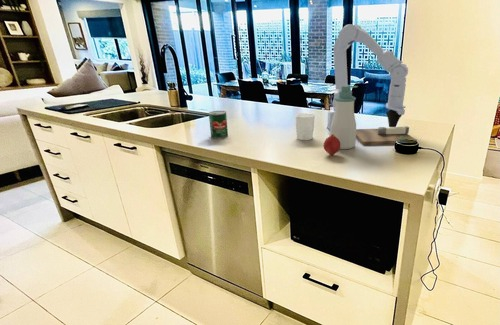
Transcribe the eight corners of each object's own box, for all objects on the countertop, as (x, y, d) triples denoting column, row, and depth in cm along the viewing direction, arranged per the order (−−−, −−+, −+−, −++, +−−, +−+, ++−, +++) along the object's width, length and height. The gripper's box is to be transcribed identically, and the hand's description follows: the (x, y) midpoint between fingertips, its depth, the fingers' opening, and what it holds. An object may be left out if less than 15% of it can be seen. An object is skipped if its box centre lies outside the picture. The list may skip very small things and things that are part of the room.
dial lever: (379, 135, 121) (380, 128, 120) (376, 133, 124) (377, 126, 123) (409, 134, 120) (410, 127, 119) (405, 132, 123) (406, 126, 122)
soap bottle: (351, 151, 110) (356, 88, 101) (325, 148, 115) (328, 87, 106) (358, 144, 117) (363, 84, 109) (333, 141, 122) (336, 83, 114)
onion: (321, 153, 110) (321, 132, 107) (336, 151, 110) (337, 130, 107) (326, 158, 104) (327, 136, 101) (342, 157, 105) (343, 135, 102)
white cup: (315, 135, 130) (315, 113, 127) (312, 141, 123) (313, 117, 120) (297, 135, 133) (297, 112, 129) (293, 140, 126) (293, 116, 122)
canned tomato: (220, 132, 142) (218, 109, 138) (231, 135, 137) (229, 111, 133) (207, 136, 137) (205, 112, 133) (218, 139, 132) (216, 115, 128)
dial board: (363, 145, 115) (363, 141, 115) (350, 132, 132) (351, 129, 132) (416, 143, 114) (417, 139, 113) (397, 131, 131) (397, 127, 130)
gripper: (414, 98, 115) (409, 132, 120) (399, 92, 128) (395, 123, 133) (395, 98, 115) (391, 132, 120) (382, 93, 129) (378, 124, 134)
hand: (392, 128), depth 127 cm, fingers closed
